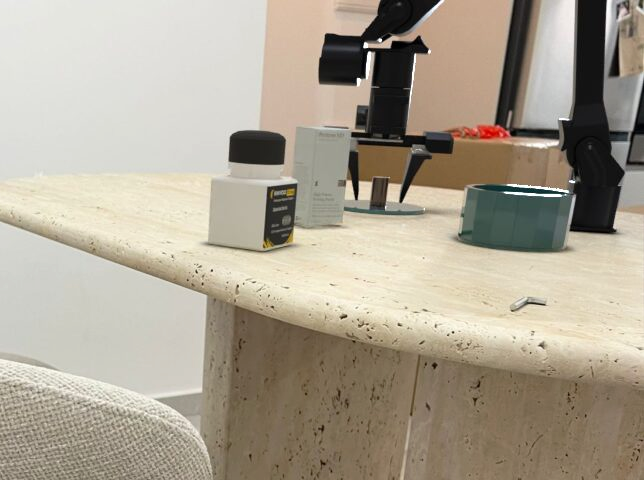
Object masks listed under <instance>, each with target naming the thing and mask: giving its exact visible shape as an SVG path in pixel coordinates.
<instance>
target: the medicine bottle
mask: <svg viewBox="0 0 644 480" xmlns="http://www.w3.org/2000/svg"><path fill="white" fill-rule="evenodd" d="M228 143H229V144H228V158H227V160H228V161H227V169H228V170H230V174H225V175H224V174H223V175H217V176H212V177H211V179H210V196H209V213H208V215H209V216H208V233H207V234H208V235H207V242H208V244H210V245H215V246H223V247H229V248H235V249H236V248H237V249H243V250H250V251H257V252H267V251H270V250H271V251H272V250H275V249H279V248H284V247H287V246H291V245H292V244H293V242H294V231H295V225H294V223H295V209H296V197H297V185H298V182H297V180H296V179H292V177H287V176H281V173H282V172H284V170H285V159H286V147H287V146H286V145H287V140H286V137H285V136H284V135H282V134H280V133H279V132H275V131H270V130H260V129H259V130H256V129H245V130H244V129H243V130H237V131H235V132H232V133H231V135H229V142H228Z"/></svg>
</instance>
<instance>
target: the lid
mask: <svg viewBox="0 0 644 480" xmlns="http://www.w3.org/2000/svg"><path fill="white" fill-rule="evenodd" d="M389 184H390V177H388V176H381V175H380V176H375V175H374V176H372V180H371V187H370V188H371V189H370V197H369V199H358V200H355V199H345V201H344V211H348V212H354V213H360V214H361V213H364V214H374V215H388V216H389V215H390V216H391V215H392V216H393V215H394V216H409V215H410V216H411V215H412V216H413V215H421V214H424V213H425V212H426V211H425V208H424V207H423V206H420V205H417V204H410V203H405V202H402V203H399V201H398V202H397V201H387V200H388V193H389V192H388V191H389Z"/></svg>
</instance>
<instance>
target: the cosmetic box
mask: <svg viewBox="0 0 644 480" xmlns="http://www.w3.org/2000/svg"><path fill="white" fill-rule="evenodd" d="M351 132H352V129H350V128H349V129H341V128H328V127H324V126H308V125H307V126H305V125H304V126H302V125H297V126H296V127H295V136H294V146H293V148H294V149H293V159H292V171H291V178H292V179H296V180H297V182H298V185H297V197H296V209H295V221H294V226H296V227H300V228H307V229H308V228H335V227H336V228H337V227H339V228H340V227H341V225H339V224H343V220H344V211H345V210H344V201H345V200H346V191H347V181H348V171H349V168H348V161H349V150H350V141H351Z"/></svg>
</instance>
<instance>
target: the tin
mask: <svg viewBox="0 0 644 480" xmlns="http://www.w3.org/2000/svg"><path fill="white" fill-rule="evenodd" d="M463 189H464V190H463V197H462V202H461V211H460V218H459V223H458V232H457V236H458V238H457V240H458V241H460V242H462V243H465V244H467V245H471V246H475V247H481V248H487V249H495V250H501V251H502V250H504V251H511V252H513V251H514V252H528V253H529V252H530V253H531V252H532V253H552V252H561V251H564V250H565V249H566V246H567V245H568V241H569V235H570V230H571V229H570V225H571V220H572V214H573V209H574V204H575V198H576V194H575V193H573V192H569V191H568V190H563V189H559V188H557V189H556V188H550V187H549V188H548V187H541V186H531V185H530V186H528V185H519V184H518V185H517V184H503V183H501V184H500V183H499V184H498V183H473V184H465V185H464V188H463Z"/></svg>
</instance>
